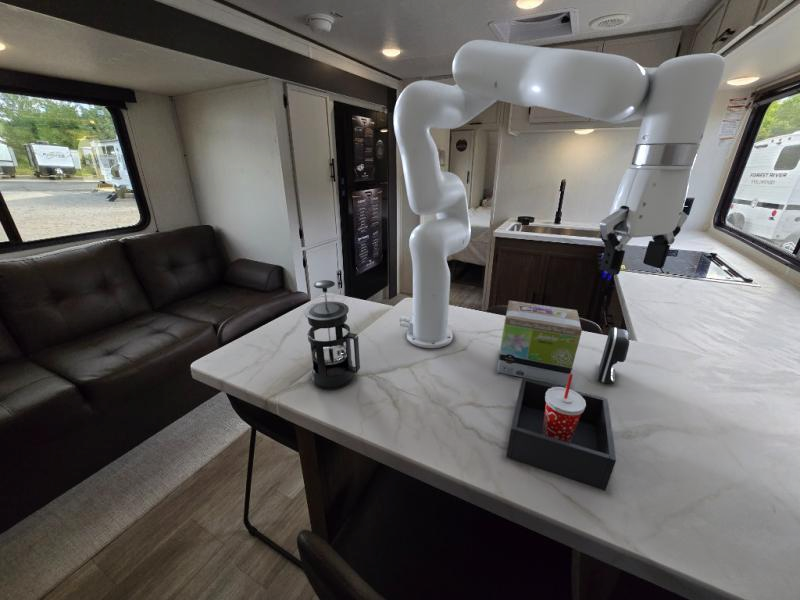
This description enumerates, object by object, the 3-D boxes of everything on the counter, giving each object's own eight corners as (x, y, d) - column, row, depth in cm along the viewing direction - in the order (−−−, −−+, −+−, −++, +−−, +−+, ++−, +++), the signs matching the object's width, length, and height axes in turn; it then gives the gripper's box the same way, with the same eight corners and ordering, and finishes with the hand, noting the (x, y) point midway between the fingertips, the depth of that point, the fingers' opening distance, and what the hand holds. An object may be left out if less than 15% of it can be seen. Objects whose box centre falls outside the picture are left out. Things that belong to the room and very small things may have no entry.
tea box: (496, 374, 78) (504, 316, 72) (500, 351, 86) (507, 298, 80) (568, 388, 73) (583, 328, 67) (564, 363, 82) (577, 307, 76)
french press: (301, 385, 75) (287, 287, 65) (322, 361, 83) (312, 272, 73) (350, 395, 71) (342, 294, 62) (367, 370, 80) (362, 277, 70)
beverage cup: (533, 424, 63) (546, 361, 57) (568, 428, 62) (584, 364, 57) (541, 451, 57) (556, 383, 52) (579, 455, 57) (599, 387, 51)
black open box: (505, 457, 57) (510, 428, 54) (517, 403, 69) (522, 377, 66) (605, 491, 51) (616, 460, 49) (599, 425, 63) (607, 398, 61)
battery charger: (617, 388, 73) (632, 342, 69) (597, 382, 75) (610, 337, 70) (617, 371, 79) (631, 328, 74) (599, 366, 80) (611, 323, 76)
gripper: (678, 157, 56) (647, 257, 63) (596, 158, 51) (573, 267, 58) (731, 158, 49) (690, 270, 56) (643, 159, 44) (611, 282, 51)
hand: (631, 268), depth 57 cm, fingers open, 9 cm apart
